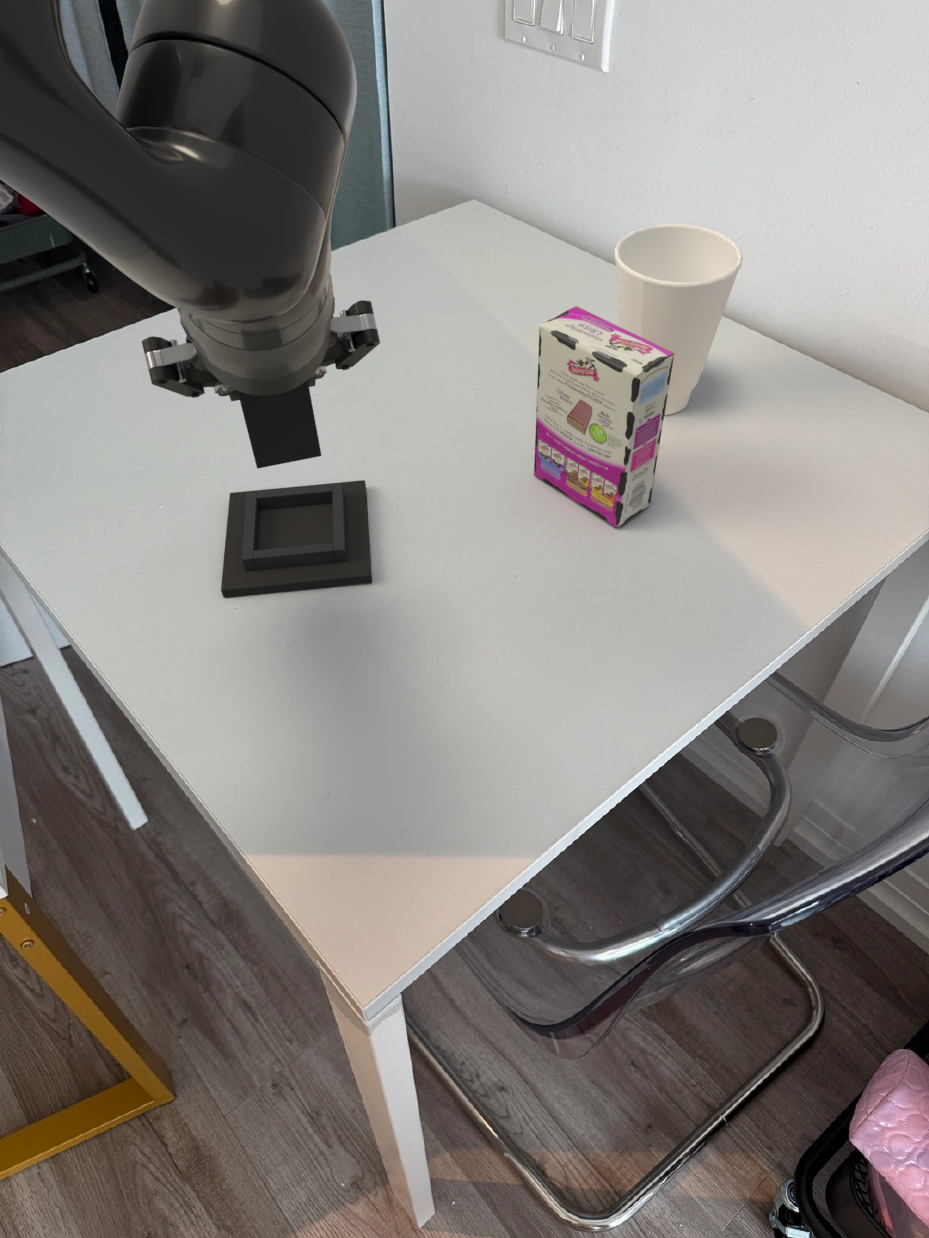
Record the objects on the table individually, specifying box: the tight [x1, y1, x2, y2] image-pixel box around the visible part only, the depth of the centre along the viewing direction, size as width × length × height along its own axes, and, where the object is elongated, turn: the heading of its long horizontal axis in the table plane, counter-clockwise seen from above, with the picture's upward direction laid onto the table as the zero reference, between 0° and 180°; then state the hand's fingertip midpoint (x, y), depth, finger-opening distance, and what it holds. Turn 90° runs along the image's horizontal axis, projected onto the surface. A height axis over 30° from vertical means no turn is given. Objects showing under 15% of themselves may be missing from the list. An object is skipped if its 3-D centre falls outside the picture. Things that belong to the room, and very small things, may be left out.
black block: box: [238, 380, 322, 469], centre depth 61 cm, size 4×4×8 cm
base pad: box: [220, 479, 373, 598], centre depth 83 cm, size 13×13×2 cm
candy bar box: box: [533, 305, 675, 528], centre depth 81 cm, size 11×5×16 cm, turn 43°
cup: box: [614, 223, 744, 416], centre depth 91 cm, size 12×12×16 cm
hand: (269, 379), depth 62 cm, fingers closed on black block, 4 cm apart
